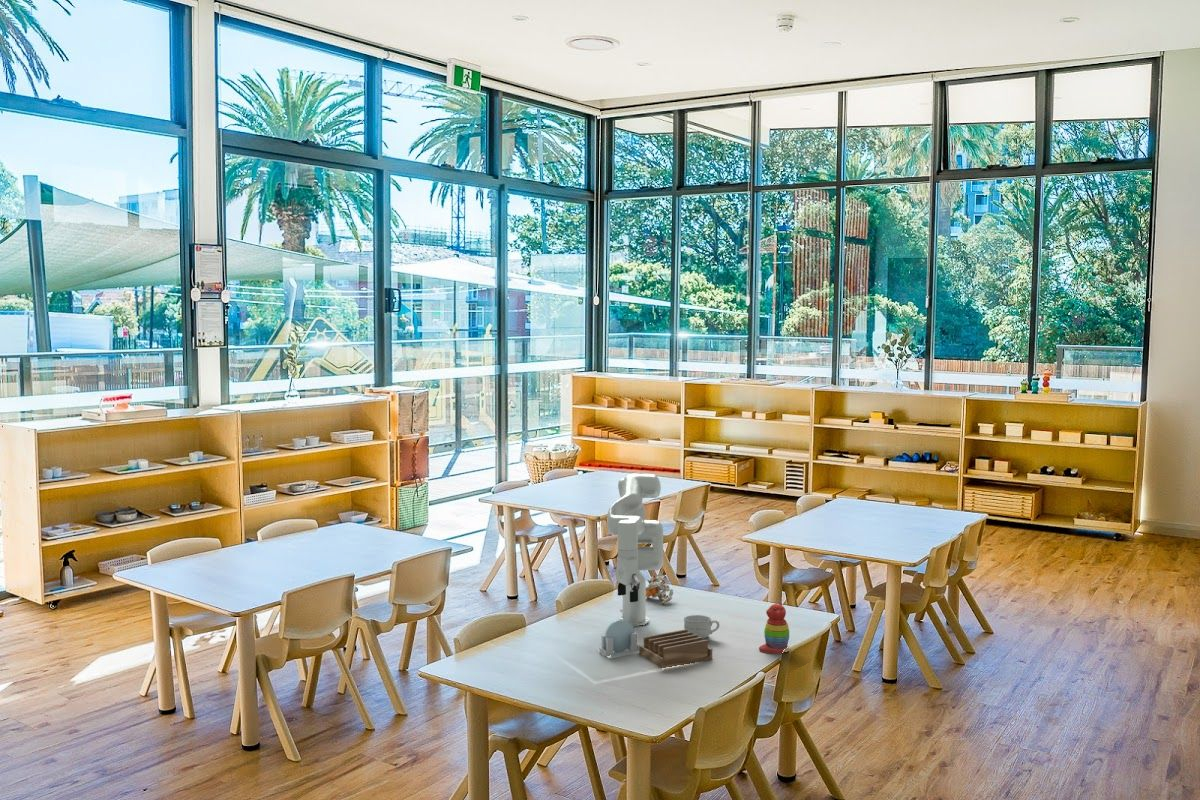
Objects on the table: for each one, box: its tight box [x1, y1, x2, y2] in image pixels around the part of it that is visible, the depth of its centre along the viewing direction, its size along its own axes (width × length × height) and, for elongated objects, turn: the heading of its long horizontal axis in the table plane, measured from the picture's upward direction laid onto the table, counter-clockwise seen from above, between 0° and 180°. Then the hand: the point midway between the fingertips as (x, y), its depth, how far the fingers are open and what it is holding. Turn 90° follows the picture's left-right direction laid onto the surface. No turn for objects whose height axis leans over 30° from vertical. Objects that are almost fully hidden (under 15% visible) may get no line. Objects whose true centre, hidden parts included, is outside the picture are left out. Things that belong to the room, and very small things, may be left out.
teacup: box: [683, 614, 720, 640], centre depth 400 cm, size 14×11×8 cm
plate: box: [604, 619, 635, 652], centre depth 382 cm, size 1×12×12 cm, turn 118°
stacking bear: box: [758, 602, 790, 655], centre depth 386 cm, size 11×10×18 cm
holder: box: [598, 632, 641, 659], centre depth 383 cm, size 10×15×8 cm, turn 119°
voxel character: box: [646, 572, 674, 605], centre depth 449 cm, size 11×10×15 cm
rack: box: [638, 629, 713, 668], centre depth 378 cm, size 16×22×7 cm
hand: (627, 598), depth 380 cm, fingers open, 9 cm apart
